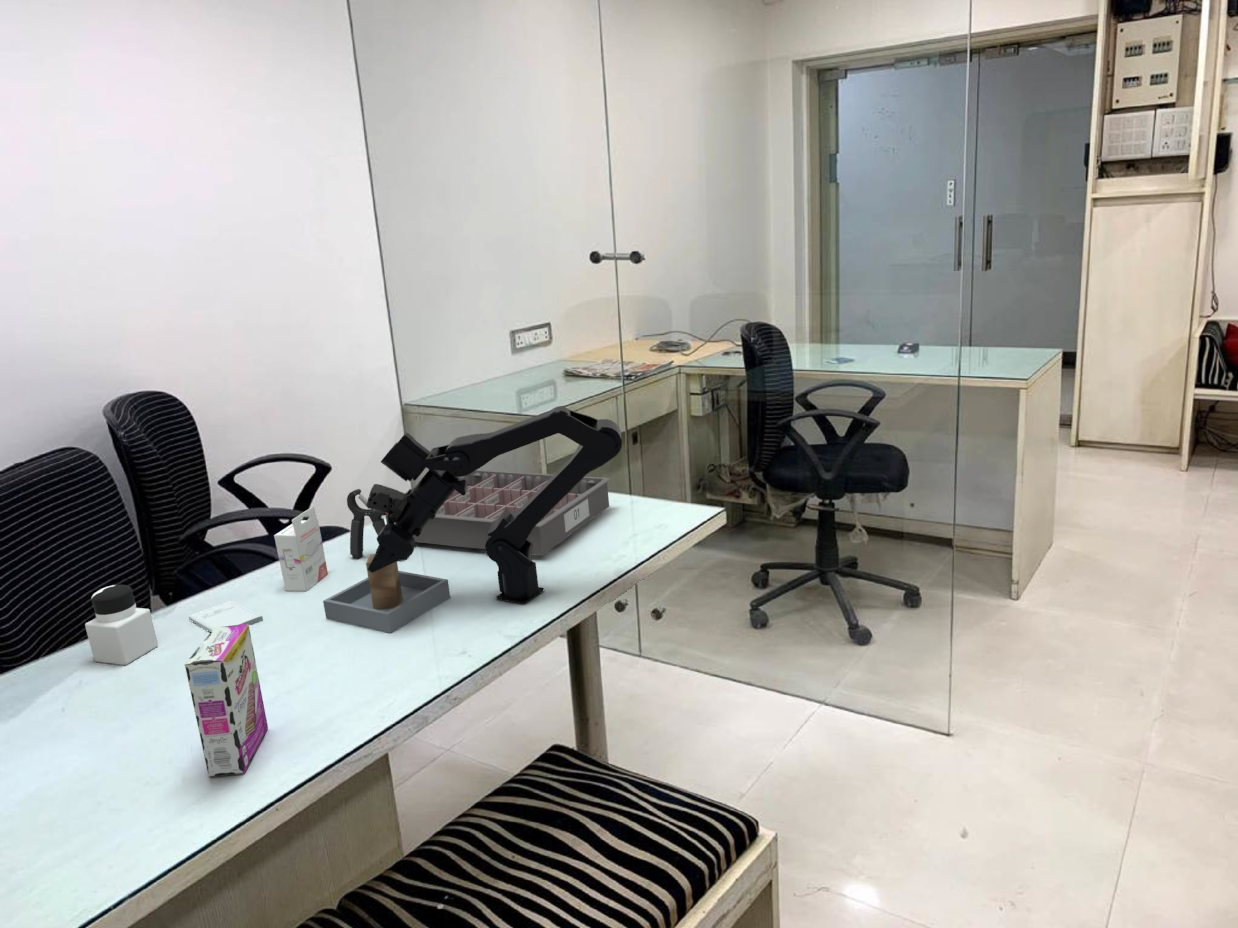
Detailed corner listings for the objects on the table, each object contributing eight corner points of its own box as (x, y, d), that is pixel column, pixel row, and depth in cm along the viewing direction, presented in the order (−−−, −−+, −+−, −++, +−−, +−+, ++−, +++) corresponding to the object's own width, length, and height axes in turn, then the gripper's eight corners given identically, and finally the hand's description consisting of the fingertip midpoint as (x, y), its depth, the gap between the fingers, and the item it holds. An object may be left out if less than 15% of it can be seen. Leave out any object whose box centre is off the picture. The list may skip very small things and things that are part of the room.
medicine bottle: (159, 645, 158) (144, 581, 155) (126, 665, 151) (109, 599, 148) (127, 642, 160) (112, 579, 157) (93, 662, 154) (76, 596, 150)
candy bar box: (247, 774, 118) (222, 660, 114) (207, 779, 118) (181, 664, 113) (271, 727, 129) (249, 621, 124) (235, 731, 129) (212, 625, 124)
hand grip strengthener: (403, 561, 188) (392, 492, 184) (350, 559, 191) (338, 491, 187) (408, 557, 190) (398, 489, 186) (356, 555, 193) (344, 488, 189)
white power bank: (219, 640, 159) (189, 623, 168) (264, 623, 165) (233, 607, 173) (217, 632, 159) (188, 615, 167) (262, 615, 165) (231, 599, 173)
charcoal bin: (450, 596, 168) (447, 579, 167) (390, 633, 155) (387, 614, 154) (387, 585, 176) (385, 568, 175) (326, 618, 163) (322, 600, 162)
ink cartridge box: (306, 574, 185) (293, 505, 181) (328, 574, 184) (316, 505, 180) (283, 591, 177) (269, 520, 173) (306, 591, 176) (293, 519, 172)
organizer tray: (544, 563, 181) (539, 516, 178) (384, 546, 198) (378, 502, 195) (614, 511, 209) (610, 469, 206) (468, 499, 226) (463, 461, 223)
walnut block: (402, 597, 168) (395, 551, 165) (399, 607, 163) (391, 560, 161) (377, 600, 168) (370, 554, 165) (373, 610, 163) (365, 563, 161)
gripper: (397, 455, 168) (346, 518, 170) (381, 485, 150) (324, 554, 152) (446, 492, 171) (395, 553, 173) (436, 525, 153) (379, 593, 155)
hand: (373, 562), depth 163 cm, fingers open, 8 cm apart
